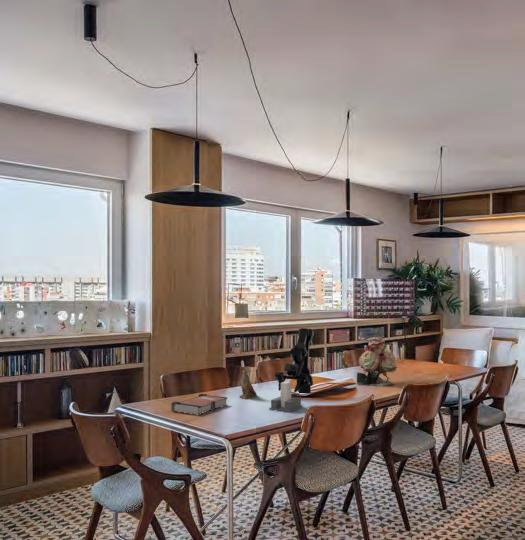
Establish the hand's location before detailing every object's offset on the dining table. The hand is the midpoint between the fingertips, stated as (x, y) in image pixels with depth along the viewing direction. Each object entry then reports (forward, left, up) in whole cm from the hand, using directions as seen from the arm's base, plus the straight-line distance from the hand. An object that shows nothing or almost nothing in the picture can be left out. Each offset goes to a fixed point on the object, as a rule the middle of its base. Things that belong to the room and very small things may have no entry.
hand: (286, 391), depth 295 cm
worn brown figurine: (+13, -33, -9) cm, 37 cm away
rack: (+1, +1, -9) cm, 9 cm away
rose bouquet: (-77, -52, -9) cm, 93 cm away
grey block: (+1, +1, -8) cm, 8 cm away
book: (+43, -13, -10) cm, 46 cm away
